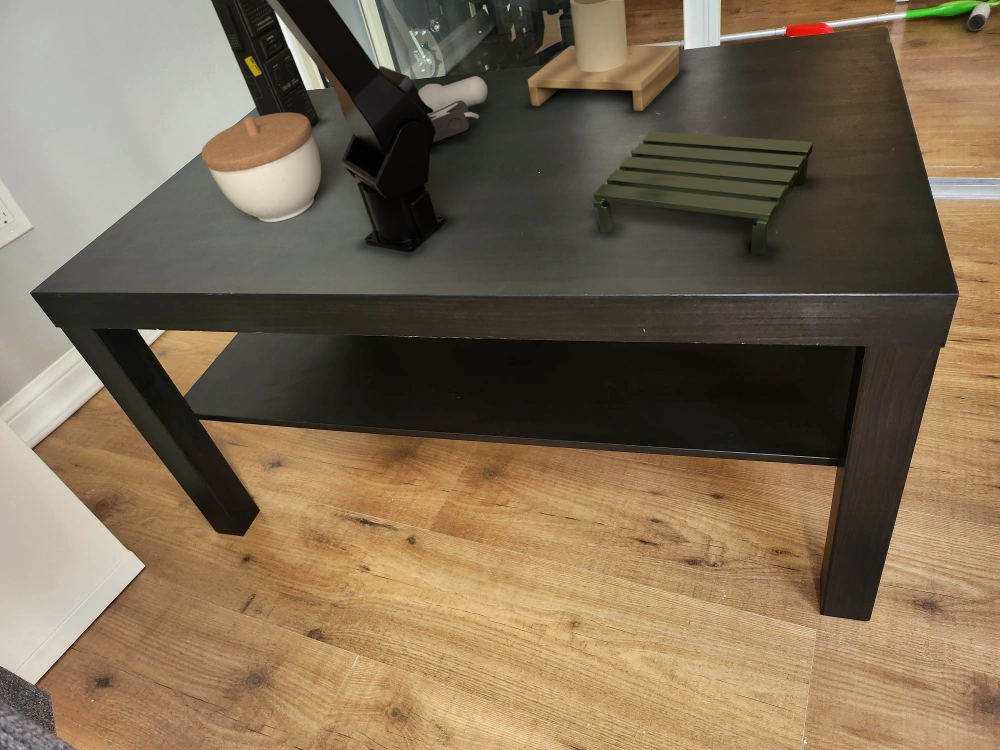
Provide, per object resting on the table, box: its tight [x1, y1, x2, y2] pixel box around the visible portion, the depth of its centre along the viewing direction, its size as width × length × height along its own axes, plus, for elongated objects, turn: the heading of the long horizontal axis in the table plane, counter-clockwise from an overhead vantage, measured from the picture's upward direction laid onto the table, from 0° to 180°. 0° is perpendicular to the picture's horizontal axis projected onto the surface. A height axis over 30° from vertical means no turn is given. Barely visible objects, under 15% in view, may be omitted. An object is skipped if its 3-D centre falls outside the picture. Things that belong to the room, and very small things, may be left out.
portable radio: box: [210, 0, 320, 127], centre depth 97 cm, size 8×6×25 cm
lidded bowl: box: [200, 113, 322, 223], centre depth 82 cm, size 13×13×11 cm
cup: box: [569, 0, 628, 72], centre depth 89 cm, size 7×7×8 cm
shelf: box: [527, 45, 680, 112], centre depth 93 cm, size 16×12×4 cm
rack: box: [592, 131, 814, 256], centre depth 67 cm, size 16×14×4 cm
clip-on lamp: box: [418, 75, 489, 143], centre depth 93 cm, size 12×6×18 cm
